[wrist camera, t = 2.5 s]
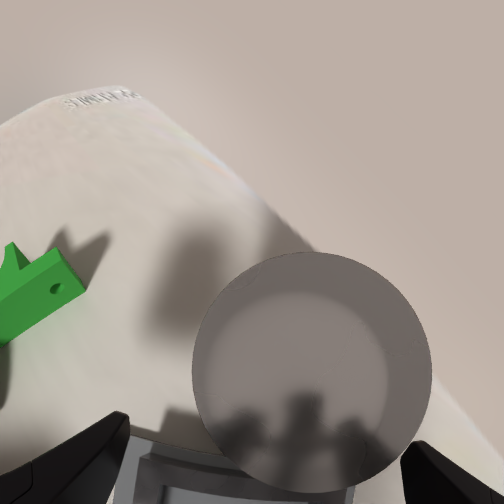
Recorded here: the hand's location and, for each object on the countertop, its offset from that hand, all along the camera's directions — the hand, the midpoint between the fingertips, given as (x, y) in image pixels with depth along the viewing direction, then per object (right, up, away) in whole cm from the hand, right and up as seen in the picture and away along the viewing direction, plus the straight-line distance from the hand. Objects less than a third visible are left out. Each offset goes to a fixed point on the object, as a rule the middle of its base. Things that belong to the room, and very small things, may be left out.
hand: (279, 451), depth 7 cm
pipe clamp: (-18, +1, +10) cm, 20 cm away
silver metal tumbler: (-1, -3, +9) cm, 10 cm away
